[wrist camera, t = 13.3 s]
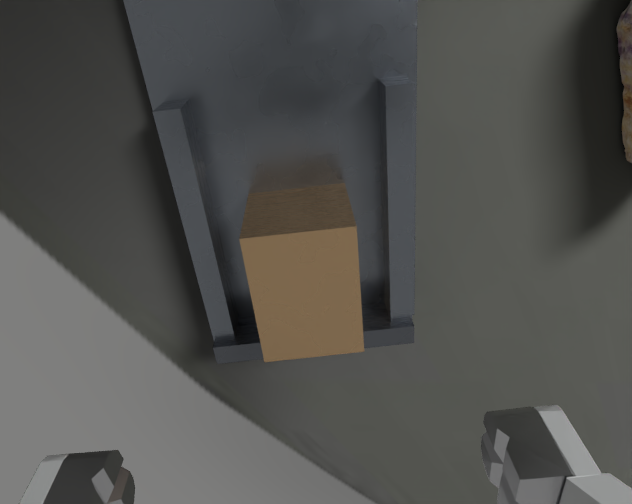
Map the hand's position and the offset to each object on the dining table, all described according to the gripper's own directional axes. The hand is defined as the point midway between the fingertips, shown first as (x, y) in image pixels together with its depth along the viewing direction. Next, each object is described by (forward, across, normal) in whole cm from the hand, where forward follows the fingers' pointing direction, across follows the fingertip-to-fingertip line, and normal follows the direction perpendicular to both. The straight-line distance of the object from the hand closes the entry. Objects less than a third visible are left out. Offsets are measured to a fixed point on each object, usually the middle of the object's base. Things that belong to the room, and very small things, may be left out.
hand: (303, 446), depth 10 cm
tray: (+17, 0, 0) cm, 17 cm away
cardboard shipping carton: (+15, 0, +4) cm, 16 cm away
